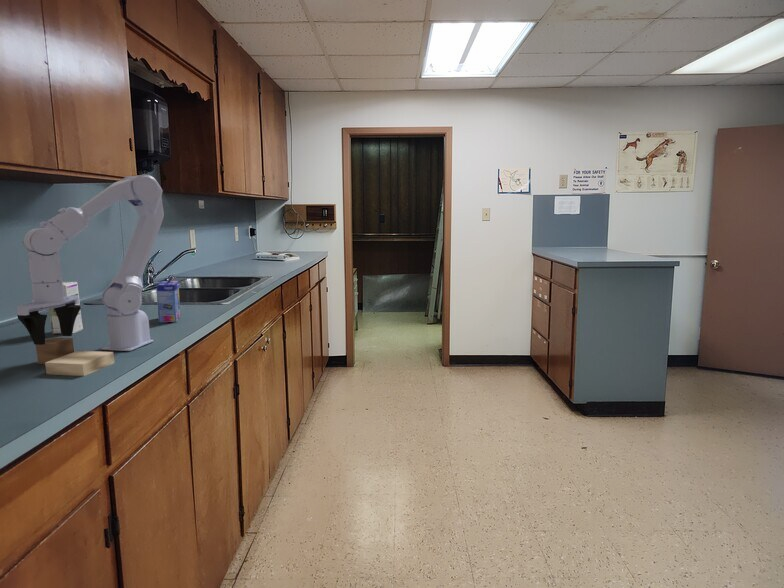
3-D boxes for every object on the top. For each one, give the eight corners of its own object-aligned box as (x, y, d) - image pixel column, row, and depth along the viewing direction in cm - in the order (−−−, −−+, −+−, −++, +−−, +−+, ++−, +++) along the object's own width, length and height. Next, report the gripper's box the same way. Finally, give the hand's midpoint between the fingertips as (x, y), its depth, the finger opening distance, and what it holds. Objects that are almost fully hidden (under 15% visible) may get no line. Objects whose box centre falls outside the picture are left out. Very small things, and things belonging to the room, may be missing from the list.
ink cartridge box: (177, 322, 150) (174, 277, 148) (158, 323, 149) (154, 277, 146) (181, 316, 160) (178, 273, 157) (163, 317, 158) (159, 273, 156)
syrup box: (83, 329, 141) (78, 281, 139) (71, 334, 136) (65, 283, 133) (64, 329, 141) (58, 281, 139) (50, 334, 135) (44, 284, 133)
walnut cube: (56, 357, 114) (53, 337, 113) (75, 358, 113) (72, 338, 112) (38, 364, 109) (35, 343, 108) (57, 365, 108) (54, 343, 108)
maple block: (79, 363, 111) (78, 350, 110) (114, 364, 110) (113, 352, 109) (46, 375, 102) (44, 362, 102) (84, 377, 101) (82, 364, 100)
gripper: (58, 277, 116) (64, 331, 118) (1, 285, 102) (9, 347, 104) (84, 277, 115) (89, 332, 117) (30, 286, 101) (38, 348, 103)
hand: (53, 339), depth 110 cm, fingers open, 7 cm apart
